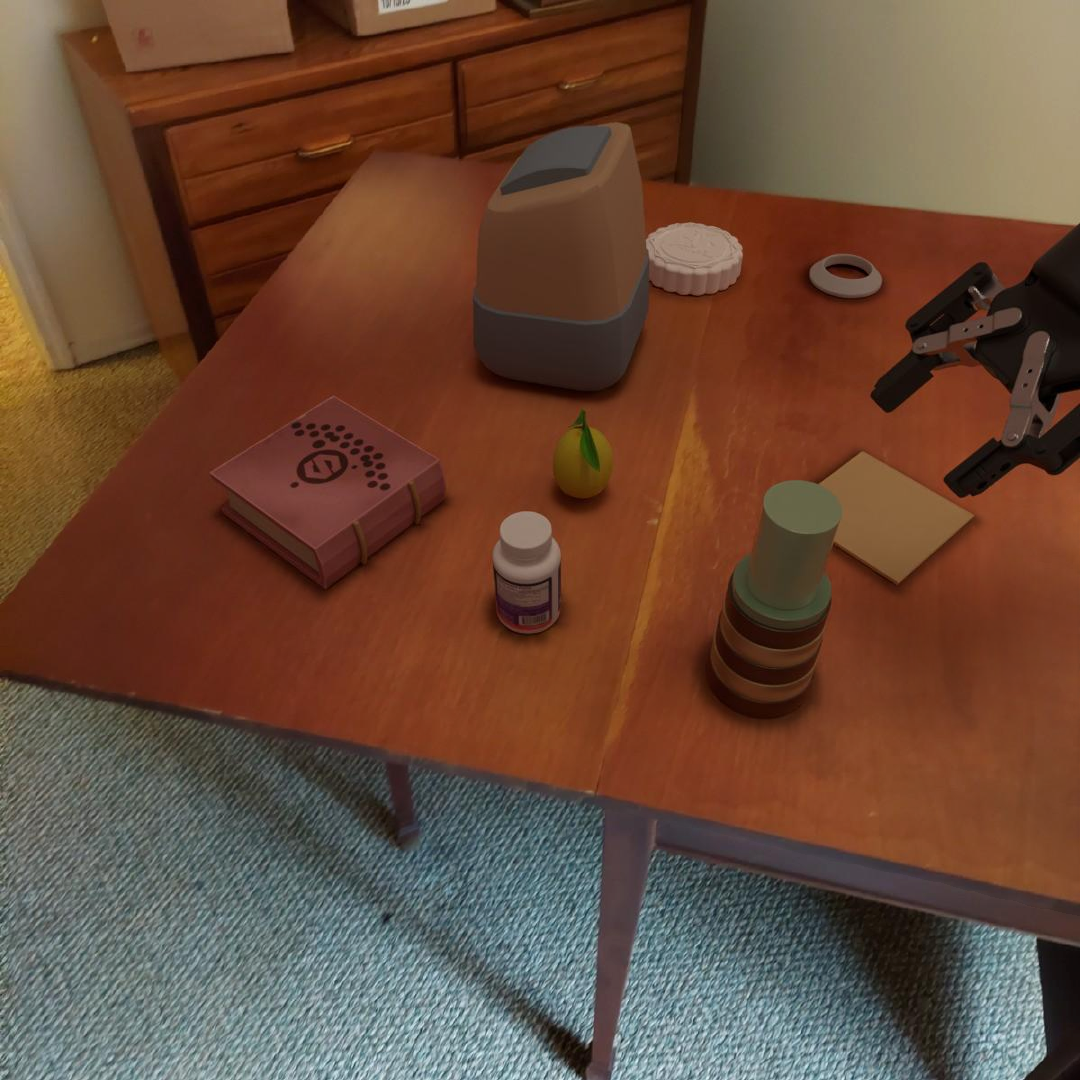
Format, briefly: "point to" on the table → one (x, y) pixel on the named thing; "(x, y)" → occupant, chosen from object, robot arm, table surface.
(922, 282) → the table surface
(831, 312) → the table surface
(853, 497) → the mat
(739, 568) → the ring spool
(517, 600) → the pill bottle
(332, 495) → the book
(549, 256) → the small trash can
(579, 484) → the lemon
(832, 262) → the ring
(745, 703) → the stack
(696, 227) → the mooncake
